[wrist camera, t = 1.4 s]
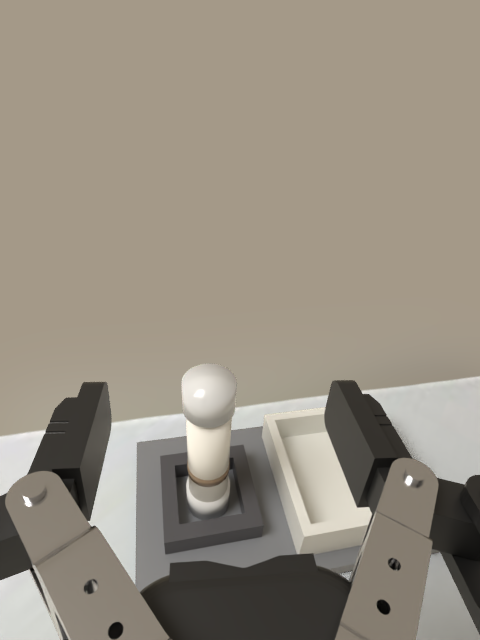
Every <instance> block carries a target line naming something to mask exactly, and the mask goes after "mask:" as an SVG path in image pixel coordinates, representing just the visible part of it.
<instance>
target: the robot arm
mask: <svg viewBox="0 0 480 640" xmlns="http://www.w3.org/2000/svg"><path fill="white" fill-rule="evenodd" d="M324 421H325V427H326V430H327V433H328V435H329V438H330V440H331V443H332V445H333V448H334V450H335V453H336V455H337V458H338V461H339V463H340V466H341V468H342V471H343V473H344V476H345V478H346V481H347V483H348V486H349V489H350V491H351V494H352V496H353V499H354V501H355V504H356V506H357V508H361V507H369V508H370V511H371V513H372V515H371V518H370V521H369V524H368V526H367V529H366V532H365V535H364V538H363V541H362V544H361V547H360V550H359V553H358V556H357V559H356V562H355V564H354V567H353V570H352V573H351V576H350V578H349V581H348V580H347V579H346V578H344V577H343V576H341V575H340V574H338V573H336V572H334V571H332V570H330V569H327V568H324V567H322V566H317V565H316V562H315V558H314V554H313V553H309V554H295V555H280V556H277V557H274V558H271V559H268V560H266V561H263V562H260V563H257V564H255V565H252V566H249V567H246V568H241V567H236V566H231V565H226V564H221V563H216V562H211V561H207V560H206V561H191V562H176V563H170V571H169V575H167V576H165V577H162V578H160V579H158V580H156V581H154V582H152V583H151V584H149V585H148V586H146V587H145V588H144V589H142V590H141V591H140V592H139V591H138V589H137V587H136V586H135V584H134V583H133V581H132V580H131V578H130V577H129V575H128V573H127V572H126V570H125V569H124V567H123V566H122V564H121V563H120V561H119V560H118V558H117V556H116V555H115V553H114V552H113V550H112V549H111V547H110V546H109V544H108V542H107V541H106V539H105V538H104V536H103V535H102V533H101V532H100V530H99V529H98V528H97V527H96V526H93V527H91V526H90V524H89V523H88V521H90V518H91V514H92V509H93V505H94V501H95V496H96V492H97V488H98V484H99V479H100V475H101V471H102V466H103V462H104V458H105V453H106V449H107V445H108V440H109V436H110V431H111V409H110V401H109V392H108V385H107V383H106V382H84V383H83V384H82V386H81V389H80V392H79V395H78V397H77V398H65V399H64V400H63V401H62V402H61V403H60V405H58V406H57V407H56V408H55V410H54V413H53V415H52V418H51V420H50V424H49V425H48V427H47V429H46V433H45V434H44V436H43V439H42V441H41V443H40V446H39V448H38V451H37V453H36V455H35V458H34V460H33V463H32V465H31V467H30V470H29V472H28V474H27V475H26V476H24V477H22V478H21V479H19V480H18V481H17V482H16V483H15V484H13V486H12V487H11V488H10V489H9V491H8V493H6V494H4V495H2V496H0V580H2V579H5V578H8V577H10V576H13V575H15V574H18V573H21V572H23V571H26V570H29V571H30V573H31V576H32V578H33V580H34V582H35V584H36V586H37V589H38V591H39V593H40V595H41V597H42V600H43V602H44V604H45V606H46V608H47V610H48V613H49V615H50V617H51V619H52V621H53V624H54V626H55V628H56V631H57V633H58V636H59V638H60V640H416V635H417V629H418V623H419V618H420V612H421V606H422V601H423V595H424V589H425V584H426V578H427V572H428V567H429V561H430V556H431V550H432V549H434V550H437V551H440V552H441V554H442V556H443V559H444V561H445V563H446V565H447V567H448V569H449V571H450V573H451V575H452V577H453V580H454V582H455V584H456V586H457V588H458V590H459V592H460V594H461V596H462V598H463V601H464V603H465V605H466V607H467V609H468V611H469V613H470V615H471V617H472V619H473V622H474V624H475V626H476V628H477V630H478V632H479V634H480V475H475V476H472V477H470V478H469V479H468V480H467V482H466V484H465V485H464V484H460V483H455V482H451V481H447V480H443V479H439V478H437V477H436V476H435V474H434V473H433V471H432V470H431V469H430V468H429V467H427V466H426V465H425V464H423V463H421V462H419V461H417V460H414V459H412V457H411V456H410V454H409V452H408V450H407V449H406V447H405V445H404V444H403V442H402V440H401V439H400V437H399V435H398V434H397V432H396V430H395V428H394V427H393V426H392V423H391V422H390V420H389V418H388V417H386V413H385V412H384V410H383V408H382V407H381V405H380V403H378V402H377V401H376V400H375V399H374V398H373V397H371V396H370V395H369V394H362V392H361V390H360V389H359V387H358V385H357V383H356V382H355V381H353V380H349V381H348V380H346V381H344V380H341V381H333V382H332V384H331V388H330V392H329V396H328V400H327V404H326V408H325V413H324Z"/></svg>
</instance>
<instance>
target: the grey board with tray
mask: <svg viewBox="0 0 480 640" xmlns="http://www.w3.org/2000/svg"><path fill="white" fill-rule="evenodd" d="M325 408H326V407H323V408H315V409H307V410H299V411H291V412H283V413H275V414H266V415H264V423H263V426H262V427H254V428H246V429H239V430H231V438H230V455H229V460H230V466H229V473H228V477H229V479H230V495H229V505H228V508H227V510H226V512H225V513H224V514H223V515H222V516H221V517H219V518H213V519H207V520H200V519H197V518H196V517H194V516H193V515H192V514H191V512H190V511H189V509H188V506H187V490H186V483H187V479H188V470H187V460H188V454H187V436H184V437H176V438H169V439H161V440H153V441H145V442H138V443H137V494H136V587H137V589H138V591H139V592H140V591H141V590H142V589H144V588H145V587H146V586H148V585H149V584H151V583H152V582H154V581H156V580H158V579H160V578H162V577H165V576H167V575H169V571H170V563H176V562H191V561H206V560H207V561H211V562H216V563H221V564H226V565H231V566H236V567H241V568H246V567H249V566H252V565H255V564H257V563H260V562H263V561H266V560H268V559H271V558H274V557H277V556H280V555H295V554H309V553H313V554H314V558H315V562H316V565H317V566H322V567H324V568H327V569H330V570H332V571H334V572H336V573H343V572H348V571H352V570H353V567H354V564H355V562H356V559H357V556H358V553H359V550H360V547H361V544H362V541H363V538H364V535H365V532H366V529H367V526H368V524H369V521H370V518H371V515H372V513H371V511H370V508H369V507H361V508H357V506H356V504H355V501H354V499H353V496H352V494H351V491H350V489H349V486H348V483H347V481H346V478H345V476H344V473H343V471H342V468H341V466H340V463H339V461H338V458H337V455H336V453H335V450H334V448H333V445H332V443H331V440H330V438H329V435H328V433H327V430H326V427H325V421H324V413H325ZM438 552H440V551H437V550H434V549H432V550H431V554H434V553H438Z"/></svg>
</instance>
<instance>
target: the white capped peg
mask: <svg viewBox="0 0 480 640" xmlns="http://www.w3.org/2000/svg"><path fill="white" fill-rule="evenodd" d="M236 387H237V381H236V377H235V375H234V374H233V373H232V372H231V370H229V369H228V368H226V367H224V366H222V365H218V364H201V365H197V366H195V367H193V368H191V369H190V370H188V371H187V372H186V373H185V374H184V376H183V378H182V403H183V413H184V416H185V417H186V429H187V454H188V460H187V470H188V479H187V483H186V490H187V506H188V509H189V511H190V512H191V514H192V515H193V516H194V517H196V518H197V519H200V520H207V519H213V518H219V517H221V516H222V515H223V514H224V513H225V512H226V510H227V508H228V505H229V495H230V479H229V477H228V473H229V466H230V460H229V455H230V438H231V421H232V416H233V415H234V412H235V403H236Z"/></svg>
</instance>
